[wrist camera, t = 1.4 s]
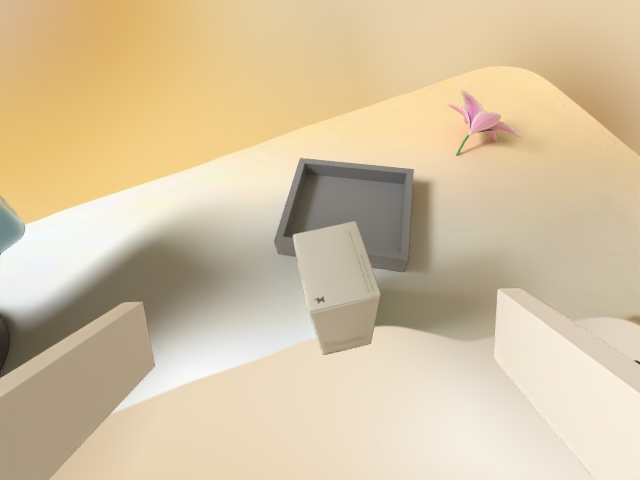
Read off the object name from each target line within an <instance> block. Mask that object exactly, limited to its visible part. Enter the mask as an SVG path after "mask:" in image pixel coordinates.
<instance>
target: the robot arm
mask: <svg viewBox="0 0 640 480" xmlns="http://www.w3.org/2000/svg"><path fill="white" fill-rule="evenodd" d="M24 232H25V225H24V223H23V221H22V220H21V218H20V217H19V215H18V214H17V213H16V212H15V211H14V209H13V208H12V207H11V206H10V205H9V204H8V203H7V202H6V201H5V200H4V199H3V197H2V196H0V255H1V253H2V252H4V251H5V250H6V249H8V248H9V247H10V246H12V245H13V244H14V243H16V242H17V241H18V240H20V239H21V237H22V236H23V235H24ZM8 344H9V334H8V329H7V326H6V324H5V322H4V321H3V320H2V319H1V318H0V369H1V367H2V365H3V362H4V360H5V357H6V354H7V350H8ZM494 359H495V361H496V362H497V363H498V364H499V365H500V367H501V368H502V369H503V370H504V372H505V373H506V374H507V375H508V376H509V378H510V379H511V380H512V381H513V382H514V383H515V385H516V386H517V387H518V388H519V390H520V391H521V392H522V393H523V394H524V396H525V397H526V398H527V399H528V400H529V402H530V403H531V404H532V405H533V407H534V408H535V409H536V410H537V411H538V413H539V414H540V415H541V416H542V417H543V419H544V420H545V421H546V422H547V423H548V425H549V426H550V427H551V428H552V429H553V431H554V432H555V433H556V434H557V435H558V437H559V438H560V439H561V440H562V442H563V443H564V444H565V445H566V446H567V448H568V449H569V450H570V451H571V452H572V454H573V455H574V456H575V457H576V458H577V460H578V461H579V462H580V463H581V464H582V466H583V467H584V468H585V469H586V470H587V472H588V473H589V474H590V475H591V477H592V478H593V479H594V480H640V362H639V361H633V360H632V359H630V358H628V357H627V356H625V355H624V354H622V353H621V352H619V351H618V350H616V349H615V348H613V347H611V346H610V345H608V344H607V343H605V342H604V341H602V340H601V339H599V338H597V337H595V336H594V335H593V334H591V333H590V332H588V331H587V330H585V329H583V328H582V327H580V326H579V325H577V324H576V323H574V322H573V321H571V320H569V319H568V318H566V317H565V316H563V315H562V314H560V313H559V312H557V311H556V310H554V309H552V308H551V307H549V306H548V305H546V304H545V303H543V302H542V301H540V300H538V299H537V298H535V297H534V296H532V295H531V294H529V293H528V292H526V291H524V290H523V289H521V288H499V289H498V292H497V309H496V325H495V343H494ZM154 366H155V363H154V358H153V353H152V347H151V342H150V337H149V332H148V326H147V321H146V316H145V311H144V306H143V302H123V303H121V304H120V305H118V306H117V307H115V308H113V309H112V310H110V311H108V312H107V313H105V314H104V315H102V316H100V317H99V318H97V319H95V320H94V321H92V322H91V323H89V324H87V325H86V326H84V327H83V328H81V329H79V330H78V331H76V332H74V333H73V334H71V335H70V336H68V337H66V338H65V339H63V340H61V341H60V342H58V343H57V344H55V345H53V346H52V347H50V348H48V349H47V350H45V351H44V352H42V353H40V354H39V355H37V356H35V357H34V358H32V359H31V360H29V361H27V362H26V363H24V364H23V365H21V366H19V367H18V368H16V369H14V370H13V371H11V372H10V373H8V374H6V375H5V376H3V377H1V378H0V480H49V479H50V478H51V477H52V476H53V475H54V474H55V472H56V471H57V470H58V469H59V468H60V467H61V466H62V465H63V464H64V463H65V462H66V461H67V460H68V458H69V457H70V456H71V455H72V454H73V453H74V452H75V451H76V450H77V449H78V448H79V447H80V446H81V444H82V443H83V442H84V441H85V440H86V439H87V438H88V437H89V436H90V435H91V434H92V433H93V432H94V431H95V430H96V429H97V427H98V426H99V425H100V424H101V423H102V422H103V421H104V420H105V419H106V418H107V417H108V416H109V415H110V414H111V412H112V411H113V410H114V409H115V408H116V407H117V406H118V405H119V404H120V403H121V402H122V401H123V400H124V399H125V397H126V396H127V395H128V394H129V393H130V392H131V391H132V390H133V389H134V388H135V387H136V386H137V385H138V384H139V382H140V381H141V380H142V379H143V378H144V377H145V376H146V375H147V374H148V373H149V372H150V371H151V370H152V369H153V367H154Z"/></svg>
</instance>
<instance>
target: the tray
mask: <svg viewBox="0 0 640 480" xmlns="http://www.w3.org/2000/svg"><path fill="white" fill-rule="evenodd" d="M413 172H414V169H406V168H395V167H385V166H375V165H365V164H355V163H344V162H334V161H324V160H314V159H303V158H300V160H299V163H298V167H297V170H296V173H295V176H294V179H293V183H292V186H291V189H290V192H289V196H288V199H287V202H286V205H285V208H284V212H283V215H282V218H281V221H280V225H279V228H278V231H277V234H276V237H275V241H274V242H275V245H276V248H277V251H278V254H282V255H289V256H296V252H295V246H294V241H293V235H294V234H298V233H302V232H307V231H311V230H316V229H321V228H325V227H330V226H335V225H340V224H344V223H349V222H353V221H355V222H356V224H357V227H358V229H359V232H360V235H361V238H362V240H363V243H364V246H365V249H366V252H367V255H368V258H369V261H370V264H371V267H372V268H379V269H386V270H392V271H399V272H404V271H405V268H406V265H407V263H408V259H409V242H410V224H411V207H412V189H413Z"/></svg>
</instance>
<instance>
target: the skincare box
mask: <svg viewBox="0 0 640 480" xmlns="http://www.w3.org/2000/svg"><path fill="white" fill-rule="evenodd" d="M293 241H294V246H295V252H296V257H297V262H298V273H299V276H300V277H301V281H302V286H303V291H304V295H305V299H306V303H307V308H308V311H309V314H310V317H311V320H312V323H313V326H314V329H315V332H316V335H317V339H318V342H319V345H320V348H321V352H322V354H323V355H327V354H331V353H335V352H340V351H343V350H348V349H352V348H356V347H360V346H364V345H368V344H371V340H372V335H373V330H374V325H375V320H376V315H377V311H378V306H379V301H380V296H381V293H380V290H379V287H378V284H377V281H376V278H375V275H374V272H373V269H372V267H371V264H370V261H369V258H368V255H367V252H366V249H365V246H364V243H363V240H362V238H361V235H360V232H359V229H358V227H357V224H356V222H355V221H353V222H349V223H344V224H340V225H335V226H330V227H325V228H321V229H316V230H311V231H307V232H302V233H298V234H294V235H293Z"/></svg>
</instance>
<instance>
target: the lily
mask: <svg viewBox="0 0 640 480" xmlns="http://www.w3.org/2000/svg"><path fill="white" fill-rule="evenodd" d="M461 93H462V96H463V101H464V108H463V107H460V106H458V105H454V104H447V105H448V106H450V107H452V108H453V109H455V110H456V111H458V112H459V113H461V114H462V115H463V116H464V123H467V124H468V126H469V130H470V131H469V134H468V135H467V137H466V138H465V140H464V141H463V143H462V145H461V147H460V148H459V150H458V152H457V154H456V155H457V156H458V154H459V152H460V150H461V148H462V147H463V145H464V143H465V141H466V140H467V138H468V137H469V136H470V134H472V133H476V132H485V133H486V134H487V135H489V136H490V137H491V138H492V139H493V140H494V141H495V142H496V141H497V135H496V133H495V132H493V131H500V132H506V133H509V134H513V135H515V136H518V137H522V136H521V135H520V134H519V133H518V132H517V131H516V130H515V129H513V128H512V127H510V126H509V125H507V124H505V123H503V122H499V120H500V118H501V116H500V115H499V114H497V113H494V112H488V111H484V109H483V107H482V105H481V104H480V103H479V102H478V101H477V100H476V99H475V98H474V97H472V96H471V95H470V94H468V93H467V92H465V91H463V90H462V91H461Z"/></svg>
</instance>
